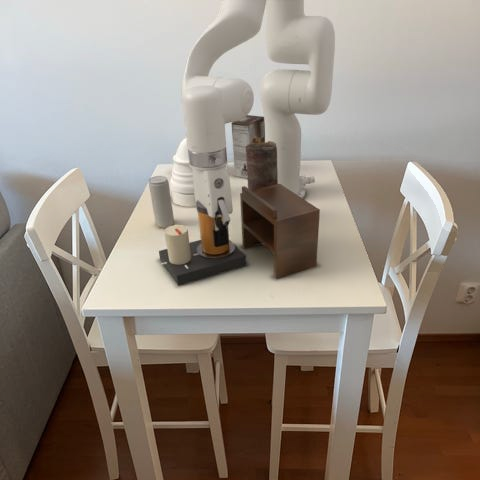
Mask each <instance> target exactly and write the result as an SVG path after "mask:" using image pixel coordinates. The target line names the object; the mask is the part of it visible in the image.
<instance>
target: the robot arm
mask: <svg viewBox="0 0 480 480" xmlns="http://www.w3.org/2000/svg"><path fill="white" fill-rule="evenodd" d="M304 3H305V0H220V4H219V10H218V14H217V16H216V18H215V19H214V20H213V21H212V22H211V23H210V24H209V25H208V26H207V27H206V28H205V29H204V31H203V32H202V33H201V34H200V35H199V38H198V39H197V40H196V42H195V43H194V44H193V46H192V47H191V49H190V51H189V53H188V55H187V59H186V63H185V68H184V73H183V77H182V83H181V91H180V93H181V94H180V95H181V104H182V112H183V122H184V130H185V138H186V140H187V148H188V157H189V166H190V167H191V168H192V171H193V187H194V195H195V200H196V202H197V200H198V201H199V202H200V203H201V204H202V205H203V206H204V207H205V208H207V212H208V215H209V216H210V217H212V220H213V225H214V230H213V237H214V246H215V247H220V246H223V245H227V244H228V243H229V240H230V237H229V238H228V230H229V224H230V223H231V217H230V215H232V214H233V212H234V209H233V197H232V189H231V188H232V187H231V183H230V182H231V181H230V176H229V170H228V167H227V165H228V153H227V152H228V151H227V139H226V138H227V137H226V124H231V123H232V122H235V121H239V120H241V119H243V118H245V117H246V116H247V115H250V113H251V111H252V110H253V106H254V101H255V97H254V96H255V95H254V91H253V88H252V86H251V84H250V83H248V81H245V80H244V79H242V78H237V77H224V76H223V77H222V76H209V74H210V71H211V69H212V67H213V66H214V64H215V63H216V61H218V60H219V59H220V58H221V57H222V56H223V55H224V54H226V53H228V52H229V51H231V50H232V49H234V48H236V47H238V46H241V44H244V43H246V42H248V41H249V40H251V39H253V38H254V37H256V36H257V35H258V34H259V33H260V31H261V28H262V23H263V20H264V15H265V27H266V29H265V45H266V54H267V56H268V58H269V60H271V61H272V62H274V63H277V64H288V65H289V64H290V65H308V66H309V70H304V69H303V70H302V69H283V68H282V69H280V68H279V69H273V70H271V71H269V72H267V73H266V74H265V75H263V77H262V79H261V82H260V87H259V94H260V102H261V107H262V113H263V117H264V124H265V142H268V141H271V142H274V143H276V147H277V172H278V184H281V185H283V186H284V187H286V188H287V189H289V190H290V191H292V192H293V193H295V194H297V195H298V196H300V197H301V198H303V199H304V197H305V194H306V189H305V186H306V185H312V184H314V183H315V182H316V178H315V176H314V175H311V176H308V177H307V176H306V175H305V174H303V175H301V157H302V154H301V153H302V128H301V127H302V126H301V123H300V121H299V119H298V118H297V115H296V114H298V115H309V116H310V115H311V116H318V115H322V114H325V112H326V111H327V110H328V109H329V106H330V103H331V98H332V93H333V78H334V64H335V52H336V51H335V49H336V33H335V32H336V31H335V28H334V24H333V22H332V21H331V19H329V18H328V17H326V16H322V15H305V4H304ZM218 210H219V212H220V214H218V215H215V213H216V212H217V211H218ZM219 217H221V221H219V223H217V219H216V218H219Z"/></svg>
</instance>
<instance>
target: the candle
mask: <svg viewBox="0 0 480 480" xmlns="http://www.w3.org/2000/svg"><path fill="white" fill-rule="evenodd" d="M246 161H247V176H248V178H247V188H248V189H250V190H256V189H260V188H264V187H268V186H272V185H276V184H278V172H277V147H276V143H274V142H271V141H268V142H265V143H250V144H248V145H247V146H246Z"/></svg>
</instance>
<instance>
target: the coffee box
mask: <svg viewBox="0 0 480 480" xmlns="http://www.w3.org/2000/svg"><path fill="white" fill-rule="evenodd" d="M231 136H232V137H231V138H232V139H231V140H232V152H233V154H232V155H233V170H234V177H237V178H242V179H243V178H245V179H248V176H247V161H246V146H247V145H248V144H250V143H265V124H264V116H260V115H250V114H248V115H247V116H246V117H245V118H243V119H241V120H239V121H235V122H231Z"/></svg>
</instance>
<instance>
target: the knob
mask: <svg viewBox="0 0 480 480" xmlns="http://www.w3.org/2000/svg"><path fill="white" fill-rule="evenodd" d="M164 237H165V244H166V249H167V250H168V256H169V261H170V262H171V263H172V264H176V265H181V264H185V263H188V262H189V261H190V260H191V252H190V244H189V243H190V239H189V229H188V227H187V226H186V225H183V224H173V225H172V226H169V227H167V228H164Z"/></svg>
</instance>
